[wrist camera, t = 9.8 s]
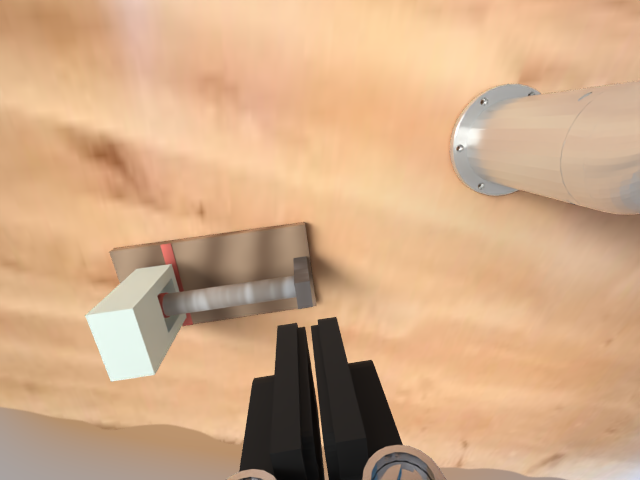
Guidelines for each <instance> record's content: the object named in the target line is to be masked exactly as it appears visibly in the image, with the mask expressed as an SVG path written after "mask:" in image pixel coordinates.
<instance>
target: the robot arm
mask: <svg viewBox="0 0 640 480" xmlns="http://www.w3.org/2000/svg"><path fill="white" fill-rule="evenodd" d="M481 101H482V104H481V103H480V102H481ZM457 146H458V149H457V150H456V148H457ZM450 157H451V163H452V165H453V168H454V171H455V173H456V174H457V176H458V178H459V179H460V180H461V181H462V182H463V183H464V184H465V185H466V186H467V187H469V188H470V189H472V190H474V191H476V192H479V193H482V194H486V195H493V196H500V195H507V194H510V193H513V192H516V191H518V190H522V191H526V192H529V193H533V194H537V195H541V196H544V197H548V198H552V199H556V200H560V201H563V202H567V203H571V204H575V205H578V206H583V207H587V208H591V209H594V210H598V211H602V212H606V213H612V214H624V215H631V214H640V80H639V81H632V82H626V83H618V84H611V85H604V86H597V87H590V88H583V89H575V90H568V91H561V92H554V93H547V94H541V93H540V92H539V91H537V90H536V89H534V88H531V87H529V86H526V85H521V84H506V85H501V86H497V87H494V88H491V89H488V90H487V91H485V92H483V93H481V94H479V95H478V96H477V97H476V98H474V99H473V100H472V101H471V102H470V103H469V104H468V105H467V106H466V107H465V109H464V110H463V111H462V113H461V114H460V116H459V118H458V119H457V121H456V124H455V126H454V129H453V131H452V136H451V140H450ZM478 185H479V186H478ZM311 332H312V341H313V350H314V360H315V369H316V378H317V388H318V397H319V406H320V416H321V425H322V434H323V442H324V450H325V457H326V463H327V469H328V476H329V480H446V478H445V477H444V475H443V473H442V472H441V470H440V468H439V467H438V466H437V465H436V463H435V462H434V461H433V460H432V459H431V458H430V457H429V456H427V455H426V454H425V453H423V452H422V451H420V450H418V449H415V448H413V447H410V446H404V445H403V444H402V442H401V439H400V436H399V433H398V430H397V428H396V425H395V422H394V419H393V416H392V414H391V411H390V408H389V405H388V402H387V400H386V397H385V394H384V391H383V389H382V386H381V383H380V380H379V377H378V375H377V372H376V369H375V366H374V364H373V361H372V360H368V361H361V362H355V363H349V364H348V362H347V358H346V354H345V350H344V346H343V342H342V338H341V334H340V330H339V326H338V322H337V318H336V317H333V318H326V319H319V320H318V325H314V326H311ZM226 480H325V479H324V468H323V458H322V448H321V438H320V428H319V418H318V409H317V401H316V395H315V388H314V382H313V375H312V369H311V362H310V356H309V349H308V343H307V336H306V330H305V327H301V328H298V325H297V323H293V324H286V325H280V326H278V328H277V344H276V360H275V375H272V376H266V377H259V378H254V380H253V383H252V389H251V396H250V403H249V409H248V416H247V423H246V430H245V436H244V443H243V450H242V457H241V464H240V471H239V472H238V473H236V474H234V475H232V476H230V477H228V478H227V479H226Z"/></svg>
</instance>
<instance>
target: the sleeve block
mask: <svg viewBox="0 0 640 480" xmlns="http://www.w3.org/2000/svg"><path fill="white" fill-rule="evenodd" d="M176 292H179V288H178V285H177V281H176V278H175V274H174V270H173V267H172V264H168V265H161V266H154V267H147V268H139V269H136V270H135V271H134V272H132V273H131V274H130V275H129V276H128V277H127V278H126V279H125V280H124V281H123V282H121V283H120V284H119V285H118V286H117V287H116V288H115V289H114V290H113V291H112V292H110V293H109V294H108V295H107V296H106V297H105V298H104V299H103V300H102V301H101V302H99V303H98V304H97V305H96V306H95V307H94V308H93V309H92V310H91V311H90V312H88V313H87V314H86V315H85V316H86V319H87V321H88V324H89V326H90V329H91V331H92V334H93V337H94V339H95V342H96V344H97V347H98V349H99V352H100V355H101V357H102V360H103V362H104V365H105V367H106V370H107V373H108V375H109V378H110V380H111V381H117V380H124V379H130V378H137V377H143V376H150V375H155V373H156V372H157V370H158V368H159V366H160V364H161V362H162V361H163V359H164V357H165V355H166V353H167V352H168V350H169V348H170V346H171V344H172V342H173V341H174V339H175V337H176V335H177V333H178V332H179V330H180V328H181V326H182V324H183V323H184V321H185V319H186V314H179V315H172V316H170V317H168V318H164V316H163V313H162V310H161V306H160V303H159V300H158V297H157V296H158V294H159V293H176Z"/></svg>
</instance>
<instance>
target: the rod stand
mask: <svg viewBox="0 0 640 480" xmlns="http://www.w3.org/2000/svg"><path fill="white" fill-rule="evenodd" d="M110 255H111V258H112V261H113V264H114V267H115V270H116V273H117V276H118V279H119V282H120V283H121V282H123V281H124V280H125V279H126V278H127V277H128V276H129V275H130V274H131V273H132V272H134V271H135V270H136V269H139V268H147V267H154V266H161V265H168V264H172V267H173V270H174V274H175V278H176V281H177V285H178V288H179V292H176V293H159V294H158V296H157V297H158V300H159V303H160V306H161V310H162V313H163V316H164V318H168V317H170V316H172V315H179V314H186V319H185V321H184V323H183V324H182V326H186V325H193V324H197V323H204V322H211V321H218V320H224V319H231V318H238V317H245V316H251V315H258V314H265V313H272V312H278V311H285V310H292V309H301V308H308V307H313V306H316V299H315V292H314V285H313V277H312V270H311V263H310V256H309V248H308V241H307V234H306V227H305V222H302V223H295V224H288V225H281V226H273V227H266V228H259V229H251V230H244V231H237V232H230V233H222V234H215V235H208V236H201V237H193V238H186V239H179V240H172V241H164V242H157V243H150V244H142V245H135V246H128V247H121V248H114V249H113V250H111V251H110Z"/></svg>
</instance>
